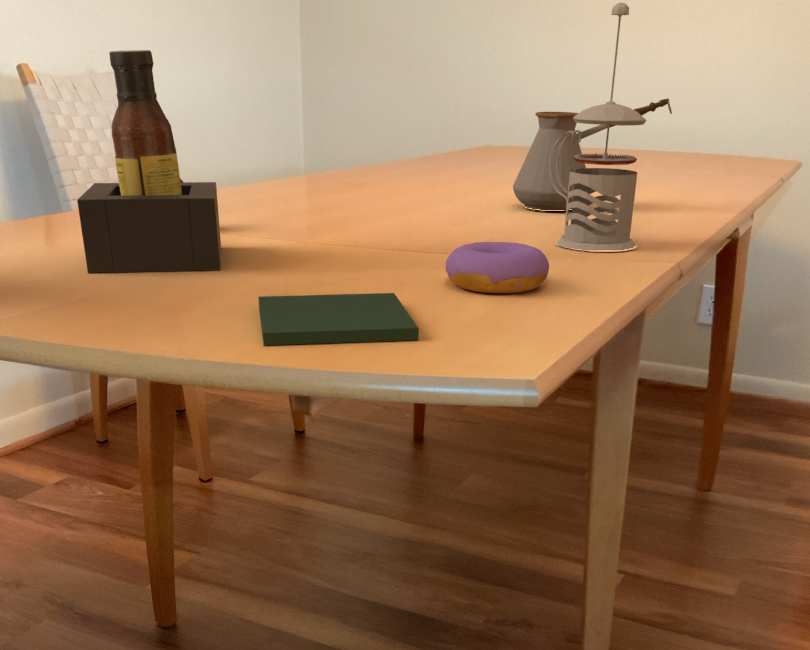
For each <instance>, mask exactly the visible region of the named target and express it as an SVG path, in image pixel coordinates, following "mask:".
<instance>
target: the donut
mask: <svg viewBox="0 0 810 650" xmlns="http://www.w3.org/2000/svg"><path fill="white" fill-rule="evenodd" d="M549 271H550V262H549V259H548V257H547V255H546V254H545V253H544V252H543V251H542V250H541V249H539V248H537V247H535V246H532V245H528V244H524V243H519V242H508V241H507V242H506V241H475V242H471V243H467V244H463V245H460V246H458V247H456V248H454V249H453V250H452V251H451V252H450V253H449V254H448V256H447V258H446V261H445V272H446V274H447V277H448V279H449V280H450V281H451V283H453V284H454V285H456V286H458V287H459V288H461V289H464V290H468V291H471V292H477V293H484V294H518V293H525V292H528V291H532V290H534V289H536V288H538V287H540V286H541V285H542V284H543V283H544V282H545V281H546V279H547V278H548V276H549Z"/></svg>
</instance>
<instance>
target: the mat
mask: <svg viewBox="0 0 810 650" xmlns="http://www.w3.org/2000/svg"><path fill="white" fill-rule="evenodd" d="M258 310H259V319H260V327H261V334H262V343H263V346H290V345H291V346H292V345H293V346H294V345H319V344H320V345H321V344H346V343H347V344H349V343H375V342H376V343H378V342H379V343H381V342H402V341H403V342H405V341H406V342H408V341H419V338H420V337H419V334H420V333H419V332H420V331H419V330H420V328H419V326H418V325H417V323H416V322H415V321H414V319H413V318H412V316H411V315H410V313H409V312H408V311H407V309H406V308H405V306H404V305H403V304H402V302H401V301H400V299H399V297H398V296H397V294H396V293H395V292H379V293H378V292H377V293H376V292H375V293H374V292H373V293H342V294H341V293H337V294H336V293H335V294H302V295H266V296H258Z"/></svg>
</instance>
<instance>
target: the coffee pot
mask: <svg viewBox="0 0 810 650" xmlns="http://www.w3.org/2000/svg"><path fill="white" fill-rule="evenodd" d="M664 106H667V109H668V112H669V114H670V115H672V114H673V112H672V107H671V103H670V98H669V97H668V98H663V99H660V100H659V101H657V102H653V101H651V102H650V103H649V104H648V105H645V106H641V107H636V108H634V109H633V110H635V111H636V112H638V113H639V114H640V115H641V116H642V117H643V116H644V115H646V114H647V113H649V112H655V111H656V110H657V109H658V108H663V107H664ZM578 113H579V112H573V111H571V112H570V111H537V112H535V116H536V117H537V120H538V121H537V122H538V129H537V133H536V134H535V136H534V138H533V141H532V143H531V145H530V147H529V150H528V152H527V154H526V156H525V158H524V161H523V163H522V164H521V167H520V169H519V172H518V173H517V176H516V179H515V180H514V183H513V184H512V189H513V193H514V195H515V197H516V199H517V200H518V201H519V202H520V203H522V204H523V205H524V206H525V207H527V208H532V209H540V210H566V202H567V201H566V199H565V198H564V197H563V196H561V195H560V194H559V193H558V192H557V191H556V190H555V188H554V187H553V185H552V182H551V179H550V174H549V161H550V155H551V151H552V149H553V147H554V145H555V143H556V141H557V140H558V139H559V138H560V137H561V136H562V135H564V134H565V133H567V132H568V131H570V130H571V131H573V132H574V131H575V130H576V127H577V124H578V123H576V122H575V121H574V119H573V117H574V116H576V115H577V114H578ZM616 126H617V125H610V127H609V129H610V128H613V127H616ZM607 128H608V125H600V124H597V125H596V126H593V127H591V128H588V129H585V130H582V131H581V133H582V135H581V140H584V139H585V138H587V137H590V136H592V135H594V134H597V133H599V132H601V131H604V130H606V129H607ZM569 134H571V133H569ZM569 134H567V135H566V136H564V137H563V138H562V139H561V140H560V141H559V142H558V144H557V146H556V148H555V150H554V152H553V155H552V164H551V172H552V179H553V182H554V185H555V186H556V188H557V189H558V190H559V192H561V193H562V194H563V195H565V196H566V197H568V194H567V193H566V192H564V190H563V189H562V188H561V186H560V185H559V182H558V178H557V173H556V161H557V153H558V150H559V148H560V146H561V144H562V142H563V140H564V139H565V138H566V137H567V136H568V135H569ZM578 140H579V133H578V132H577V133H575V140H574V141H575V142H578ZM578 154H583V153H582V149H581V146H580V142H579V143H578V144H574V143H573V142H572V135H571V136H570V137H569V138H568V139H567V140H566V141H565V142H564V144H563V146H562V148H561V151H560V154H559V161H558V172H559V178H560V181H561V184H562V185H563V187H564V188H565V189H566V190H567V191H568V186H569V175H570V170H573V172H574V173H576V169H581V168H587V166H586V164H585V162H584V163H580V162H576V161H575V160H574V156H575V155H578ZM572 190H574V184H572V185H571V191H572ZM570 202H573V199H572V197H570ZM570 209H572V208H570Z"/></svg>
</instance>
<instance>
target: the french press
mask: <svg viewBox="0 0 810 650" xmlns="http://www.w3.org/2000/svg"><path fill="white" fill-rule="evenodd" d="M610 15H611V16H617V17H618V20H617V21H618V22H617V30H616V31H617V32H616V42H615V51H614V61H613V71H612V79H611V80H612V81H611V92H610V100H609V101H606V102H605V103H602V104H598V105H593V106H591V107H588V108H586V109H583V110H581V111H580V112H577V113H578V114H577V115H576V116H574V117H573V119H574V121H575V122H576V123H577V124H585V125H608V128H606V129H607V130H606V139H605V149H604V152H603V153H596V152H595V153H582V154H578V155H575V156H574V160H575V161H576V162H580V163H585V165H597V166H598V165H599V166H600V165H601V166H627V165H632V164H635V163H636V162H637V161H638V158H637V157H635V155H629V154H616V153H615V154H613V153H612V154H611V153H609V154H608V144H609V135H610V128H611V127H610V125H616V126H620V127H621V126H643V125H645V124H646V122H647V119H646V118H645V117H644V116H643V115H642V116H641V115H640V114H639V113H638V112H636V111H635V110H634V109H633V108H632V107H629V106H626V105H622V104H619V103H616V102H615V101H613V98H614V89H615V87H614V86H615V77H616V68H617V58H618V49H619V39H620V29H621V22H622V16H629V15H630V7H629V5H628V4H627V3H626V2H618V3H616V4H614V5H613V6H612V9H611V14H610ZM609 127H610V128H609ZM581 132H582V131H581V130H580V129H575V131H574V132H573V131H571V130H570V131H568V132H567V133H565V134H564V135H562V136H561V137H560V138H559V139H558V140H557V141H556V143H555V145H554V147H553V149H552V151H551V155H550V161H549V174H550V179H551V182H552V185H553V187H554V188H555V190H556V191H557V192H558V193H559V194H560V195H561V196H563V197H564V198H565V199H566V201H567V202H566V212H565V217H564V228H563V229H564V230H563V231H564V232H563V235H561V236H560V237H559V238H558V239H556V241H555V242H557V244H558V245H560V246H563V247H567V248H574V249H582V250H624V249H629V248H633V247H634V246H636V245H637V244H636V243H635V241H634V240H633V239H632V238H631V231H632V222H633V215H634V205H635V197H636V190H637V189H636V188H637V180H638V172H637V171H636V170H629V169H622V168H611V167H610V168H607V167H586V168H581V169H576V173H574V172H573V170H570V175H569V186H568V191H567V190H566V189H565V188H564V187H563V185H562V184H561V181H560V178H559V172H558V161H559V154H560V151H561V148H562V146H563V144H564V142H565V141H566V140H567V139H568V138H569V137H570V136H571V135H572V142H573V143H574V144H578V143H579V144H580V143H581V140H582V139H581V135H582V133H581ZM569 133H571V134H569ZM575 133H576V134H577V133H579V140H578V142H575V141H574V140H575ZM567 134H569V135H568V136H567V137H566V138H565V139H564V140H563V142H562V144H561V146H560V148H559V150H558V153H557V161H556V173H557V178H558V182H559V185H560V186H561V188H562V189H563V190H564V192H566V193H567V194H568V197H566V196H565V195H563V194H562V193H561V192H559V190H558V189H557V188H556V186H555V185H554V182H553V179H552V172H551V164H552V155H553V152H554V150H555V148H556V146H557V144H558V142H559V141H560V140H561V139H562V138H563V137H564V136H566V135H567ZM572 184H574V190H572V191H571V185H572ZM596 192H597V193H598V194H600V195H597V196H594V195H593V194H594V193H596ZM618 196H619V197H620V199H619V198H618ZM570 197H572V199H573V202H570ZM593 204H594V205H596V207H591V205H593ZM570 208H572V211H571V213H570V211H569V209H570ZM607 213H608V214H607ZM590 216H593V217H594V218H589V217H590ZM616 220H617V221H616ZM569 221H570V224H569Z"/></svg>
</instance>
